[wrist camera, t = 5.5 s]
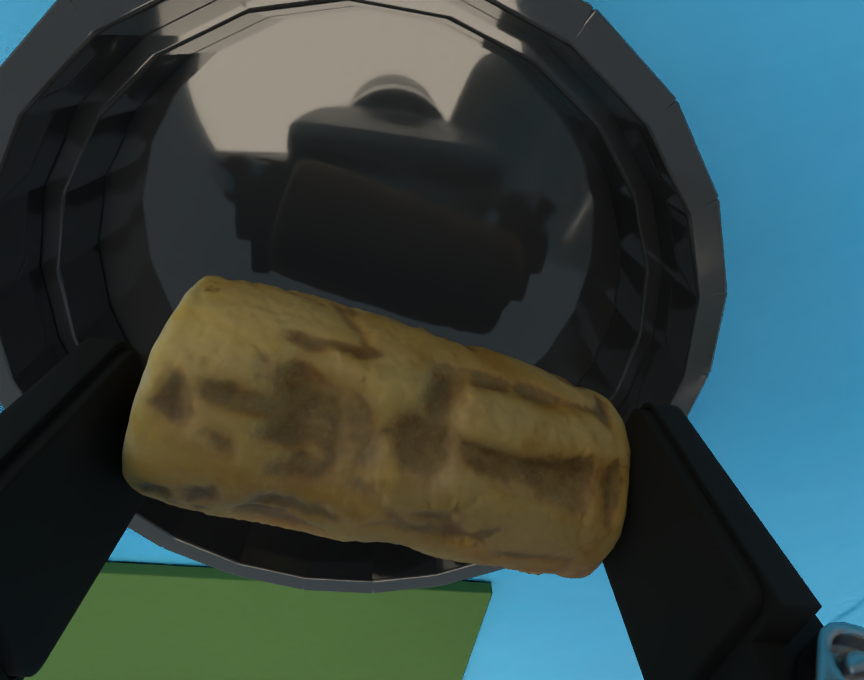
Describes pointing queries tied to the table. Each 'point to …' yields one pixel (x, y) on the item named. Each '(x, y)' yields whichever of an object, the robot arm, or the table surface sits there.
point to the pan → (355, 205)
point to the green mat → (262, 629)
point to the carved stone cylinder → (374, 433)
